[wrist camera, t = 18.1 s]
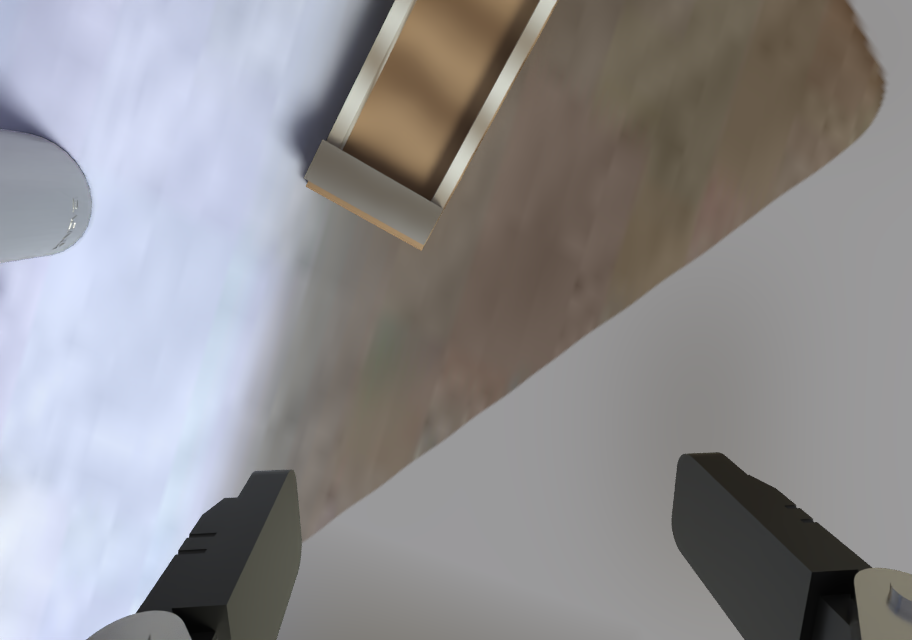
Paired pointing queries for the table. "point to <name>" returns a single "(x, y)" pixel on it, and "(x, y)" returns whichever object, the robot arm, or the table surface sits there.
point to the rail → (423, 108)
